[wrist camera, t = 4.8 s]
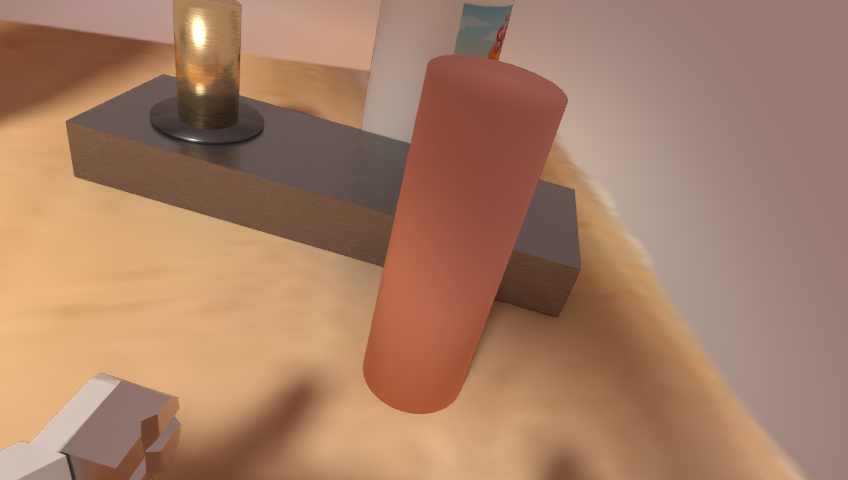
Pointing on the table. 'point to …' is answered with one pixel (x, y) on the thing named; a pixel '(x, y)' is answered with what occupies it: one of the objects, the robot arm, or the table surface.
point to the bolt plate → (285, 163)
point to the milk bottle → (424, 53)
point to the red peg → (456, 223)
